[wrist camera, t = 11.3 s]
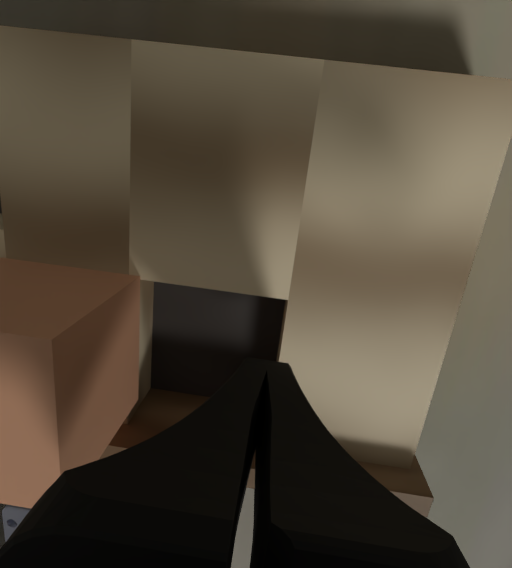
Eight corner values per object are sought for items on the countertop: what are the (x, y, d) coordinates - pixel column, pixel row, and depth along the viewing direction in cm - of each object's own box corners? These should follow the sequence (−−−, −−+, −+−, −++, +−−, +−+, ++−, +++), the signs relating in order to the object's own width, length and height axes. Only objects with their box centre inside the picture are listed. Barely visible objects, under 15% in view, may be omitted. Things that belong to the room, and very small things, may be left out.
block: (138, 399, 13) (62, 513, 9) (14, 380, 13) (-119, 482, 9) (140, 276, 12) (51, 339, 7) (1, 257, 12) (-163, 308, 8)
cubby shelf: (396, 439, 15) (427, 517, 12) (-171, 351, 17) (-291, 398, 13) (500, 71, 11) (592, 29, 8) (-267, -9, 12) (-477, -76, 9)
